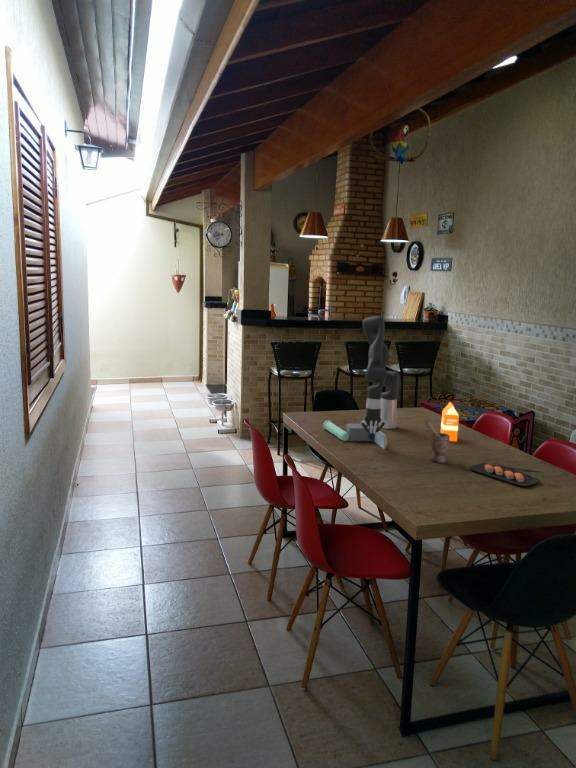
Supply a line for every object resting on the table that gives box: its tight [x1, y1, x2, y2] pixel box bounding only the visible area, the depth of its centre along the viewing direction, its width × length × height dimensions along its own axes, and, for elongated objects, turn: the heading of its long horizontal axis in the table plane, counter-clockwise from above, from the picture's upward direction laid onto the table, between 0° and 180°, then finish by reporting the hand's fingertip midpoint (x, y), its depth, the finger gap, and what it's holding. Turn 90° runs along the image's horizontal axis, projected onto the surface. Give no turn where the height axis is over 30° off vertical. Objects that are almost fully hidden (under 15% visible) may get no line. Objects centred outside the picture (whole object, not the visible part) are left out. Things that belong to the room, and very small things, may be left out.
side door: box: [373, 430, 388, 450], centre depth 297 cm, size 14×2×7 cm, turn 12°
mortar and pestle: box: [424, 418, 450, 464], centre depth 274 cm, size 12×9×20 cm
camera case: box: [345, 422, 374, 442], centre depth 309 cm, size 14×10×8 cm
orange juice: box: [439, 401, 460, 442], centre depth 314 cm, size 8×9×20 cm
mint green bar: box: [322, 420, 349, 442], centre depth 314 cm, size 6×6×25 cm
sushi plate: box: [468, 462, 542, 487], centre depth 261 cm, size 29×30×4 cm
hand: (371, 439), depth 292 cm, fingers closed
